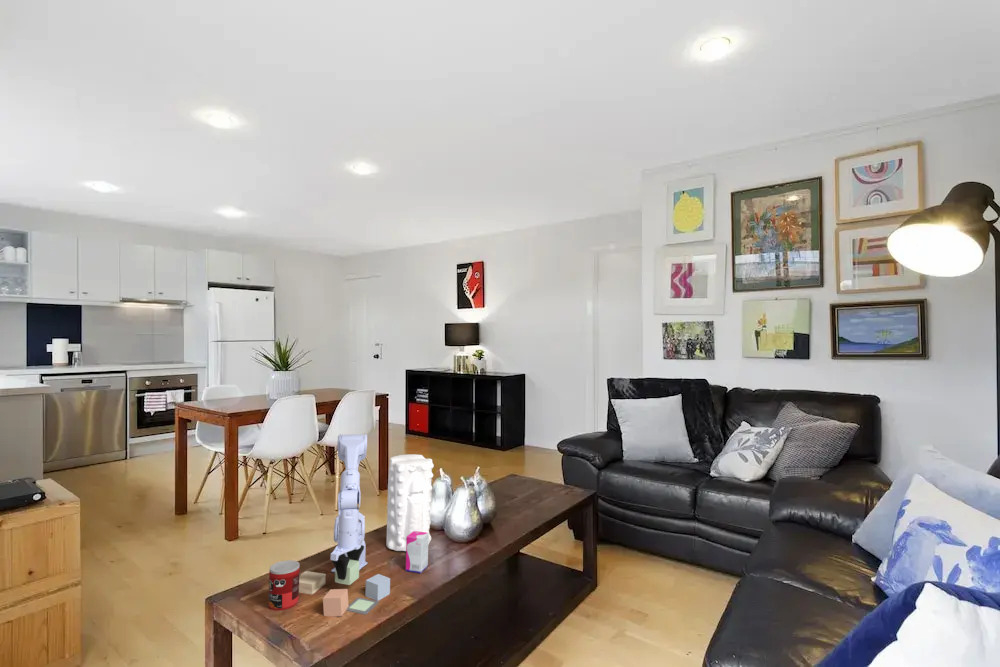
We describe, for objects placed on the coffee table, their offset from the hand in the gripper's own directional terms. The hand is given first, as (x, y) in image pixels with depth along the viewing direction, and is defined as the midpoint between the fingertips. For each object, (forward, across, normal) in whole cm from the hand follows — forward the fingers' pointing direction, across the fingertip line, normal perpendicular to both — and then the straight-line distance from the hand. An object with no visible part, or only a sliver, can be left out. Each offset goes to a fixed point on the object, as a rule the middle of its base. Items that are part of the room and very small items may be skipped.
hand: (347, 574), depth 153 cm
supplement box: (+5, +21, -13) cm, 25 cm away
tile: (+5, -6, -9) cm, 12 cm away
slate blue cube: (+5, +1, -10) cm, 11 cm away
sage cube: (+2, 0, 0) cm, 2 cm away
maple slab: (+5, -2, +12) cm, 13 cm away
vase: (+6, +38, -1) cm, 38 cm away
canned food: (+5, -12, +12) cm, 18 cm away
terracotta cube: (+5, -11, -4) cm, 13 cm away
